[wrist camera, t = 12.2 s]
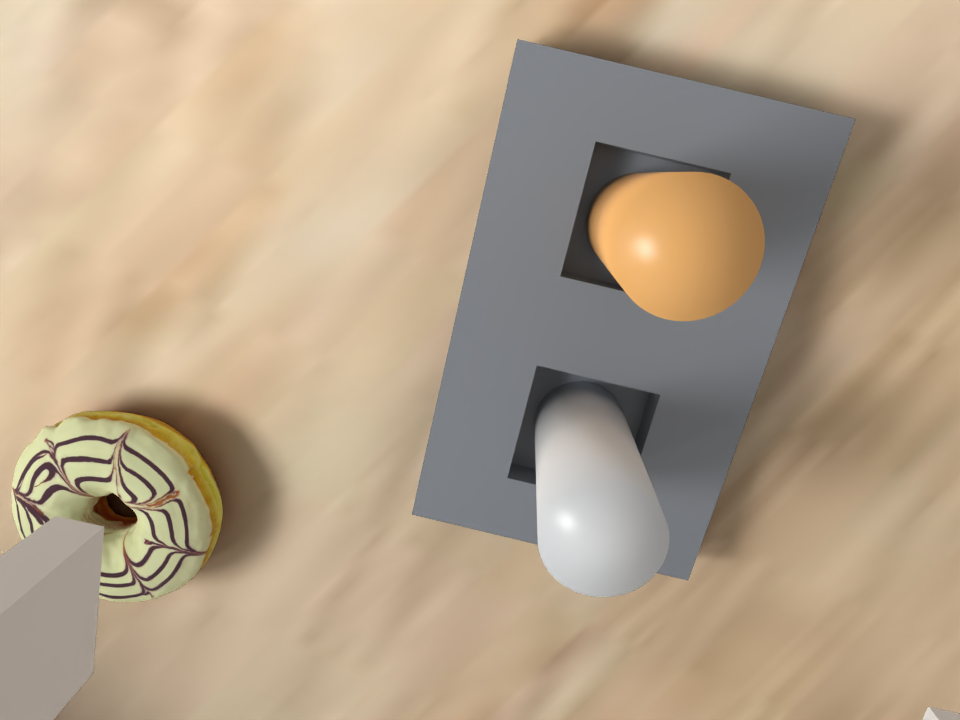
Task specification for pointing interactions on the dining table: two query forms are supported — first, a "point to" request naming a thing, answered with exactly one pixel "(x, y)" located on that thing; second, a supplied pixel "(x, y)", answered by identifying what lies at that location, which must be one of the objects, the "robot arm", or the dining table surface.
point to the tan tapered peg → (677, 241)
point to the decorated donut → (124, 497)
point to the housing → (614, 288)
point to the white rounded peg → (594, 495)
